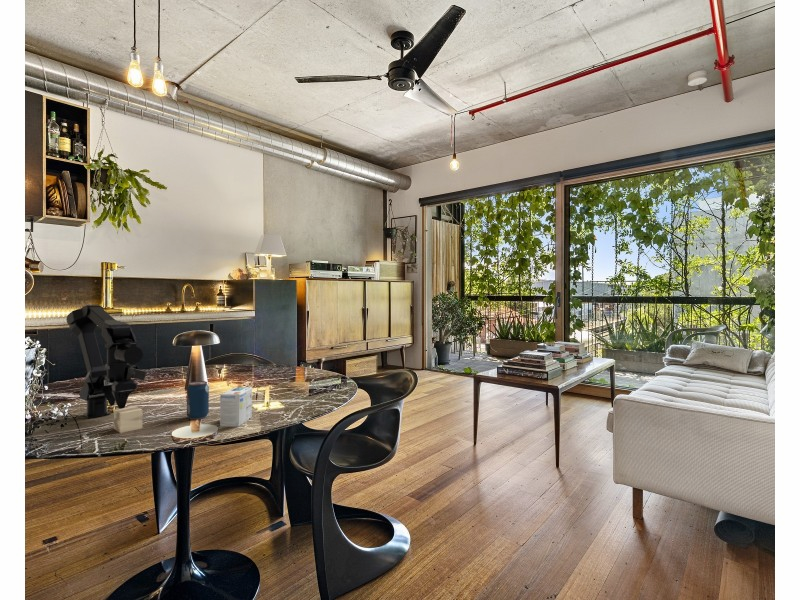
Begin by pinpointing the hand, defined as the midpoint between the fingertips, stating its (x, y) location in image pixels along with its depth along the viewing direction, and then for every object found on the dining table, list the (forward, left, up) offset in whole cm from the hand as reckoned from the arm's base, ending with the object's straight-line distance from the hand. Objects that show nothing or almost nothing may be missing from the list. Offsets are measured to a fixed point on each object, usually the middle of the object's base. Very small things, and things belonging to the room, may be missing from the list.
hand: (116, 407), depth 136 cm
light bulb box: (+30, +26, -5) cm, 40 cm away
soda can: (+15, +20, -5) cm, 25 cm away
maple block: (+11, 0, -5) cm, 12 cm away
